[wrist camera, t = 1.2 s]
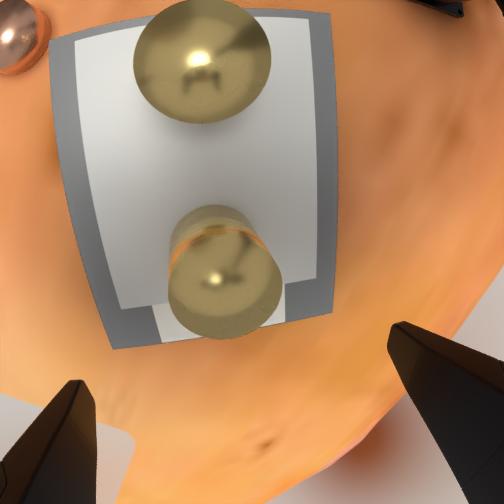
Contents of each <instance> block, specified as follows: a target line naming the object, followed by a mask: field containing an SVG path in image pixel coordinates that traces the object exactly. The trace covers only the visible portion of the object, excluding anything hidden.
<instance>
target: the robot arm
mask: <svg viewBox="0 0 504 504" xmlns="http://www.w3.org/2000/svg"><path fill="white" fill-rule="evenodd" d="M410 1H413V2H416V3H419V4H422V5H425V6H428V7H431V8H434V9H436V10H439V11H442V12H444V13H447V14H449V15H452V16H454V17H457V18H462V17H463V16H464V12H463V6H462V2H464V1H469V0H410ZM495 1H496V3H497V4H498V6H499V8H500V9H501V11H502V13H503V14H502V15H503V16H504V0H495ZM387 350H388V353H389V355H390V357H391V359H392V361H393V363H394V365H395V368H396V370H397V372H398V374H399V376H400V378H401V381H402V383H403V385H404V387H405V389H406V391H407V392H408V394H409V396H410V398H411V399H412V401H413V403H414V404H415V406H416V408H417V409H418V411H419V413H420V414H421V416H422V418H423V420H424V421H425V423H426V425H427V427H428V428H429V430H430V432H431V434H432V435H433V437H434V439H435V441H436V443H437V444H438V446H439V448H440V450H441V451H442V453H443V455H444V457H445V459H446V460H447V462H448V464H449V466H450V468H451V470H452V471H453V473H454V475H455V477H456V479H457V481H458V483H459V485H460V487H461V488H462V491H463V493H464V495H465V497H466V499H467V501H468V503H469V504H504V362H503V361H501V360H497V359H495V358H493V357H491V356H489V355H486V354H483V353H481V352H479V351H476V350H474V349H471V348H469V347H467V346H464V345H462V344H459V343H456V342H454V341H452V340H449V339H447V338H445V337H442V336H440V335H437V334H435V333H432V332H430V331H428V330H425V329H423V328H420V327H418V326H415V325H413V324H411V323H408V322H406V321H402V322H398V323H395V324H393V325H392V327H391V330H390V334H389V338H388V343H387ZM96 469H97V438H96V410H95V401H94V398H93V396H92V395H91V393H90V391H89V389H88V387H87V386H86V384H85V382H84V381H83V380H70V381H68V382H67V383H66V384H65V385H64V387H63V388H62V389H61V390H60V391H59V392H58V393H57V395H56V396H55V397H54V398H53V399H52V400H51V402H50V403H49V404H48V405H47V406H46V407H45V408H44V410H43V411H42V412H41V413H40V414H39V416H38V417H37V418H36V419H35V420H34V421H33V423H32V424H31V425H30V426H29V427H28V429H27V430H26V431H25V432H24V433H23V435H22V436H21V437H20V438H19V439H18V441H17V442H16V443H15V445H14V446H13V447H12V448H11V449H10V450H9V452H8V453H7V454H6V455H5V457H4V458H3V461H1V462H0V504H96Z"/></svg>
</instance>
